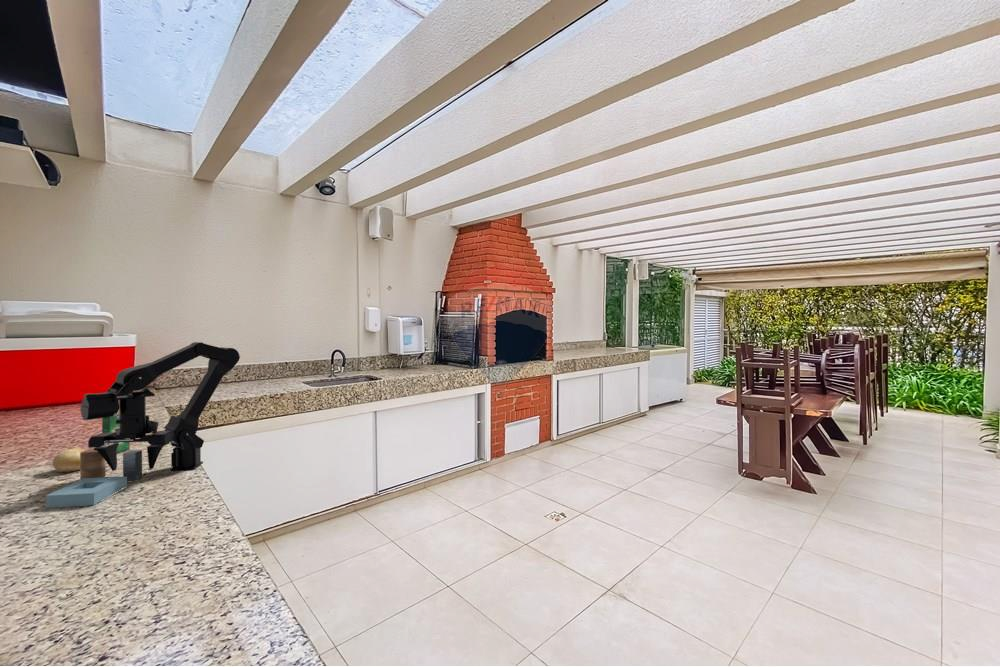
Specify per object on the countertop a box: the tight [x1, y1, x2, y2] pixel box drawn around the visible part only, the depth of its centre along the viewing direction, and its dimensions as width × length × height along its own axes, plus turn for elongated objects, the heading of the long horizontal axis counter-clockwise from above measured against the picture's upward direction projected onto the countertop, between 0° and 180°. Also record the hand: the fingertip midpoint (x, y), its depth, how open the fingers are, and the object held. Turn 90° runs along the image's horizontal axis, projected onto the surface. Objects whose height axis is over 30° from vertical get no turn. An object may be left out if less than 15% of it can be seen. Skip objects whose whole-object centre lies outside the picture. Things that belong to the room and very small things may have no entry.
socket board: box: [45, 475, 128, 509], centre depth 112 cm, size 10×12×3 cm
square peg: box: [122, 449, 143, 482], centre depth 124 cm, size 3×3×8 cm
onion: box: [52, 445, 85, 473], centre depth 132 cm, size 8×8×7 cm
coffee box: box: [101, 413, 131, 454], centre depth 149 cm, size 8×3×13 cm, turn 178°
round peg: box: [79, 448, 107, 480], centre depth 124 cm, size 5×5×8 cm
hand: (133, 469), depth 124 cm, fingers open, 9 cm apart
